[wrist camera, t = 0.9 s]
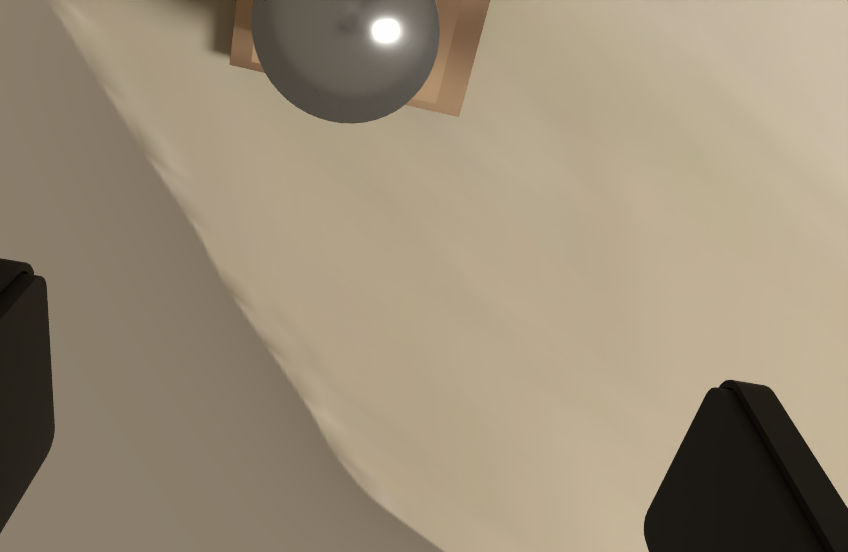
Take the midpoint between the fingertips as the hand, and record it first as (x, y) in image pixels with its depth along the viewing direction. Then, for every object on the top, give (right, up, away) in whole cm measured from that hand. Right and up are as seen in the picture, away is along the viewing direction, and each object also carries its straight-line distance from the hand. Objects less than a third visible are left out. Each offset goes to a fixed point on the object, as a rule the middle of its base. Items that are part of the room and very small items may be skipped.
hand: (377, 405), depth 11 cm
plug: (-1, +12, +16) cm, 20 cm away
